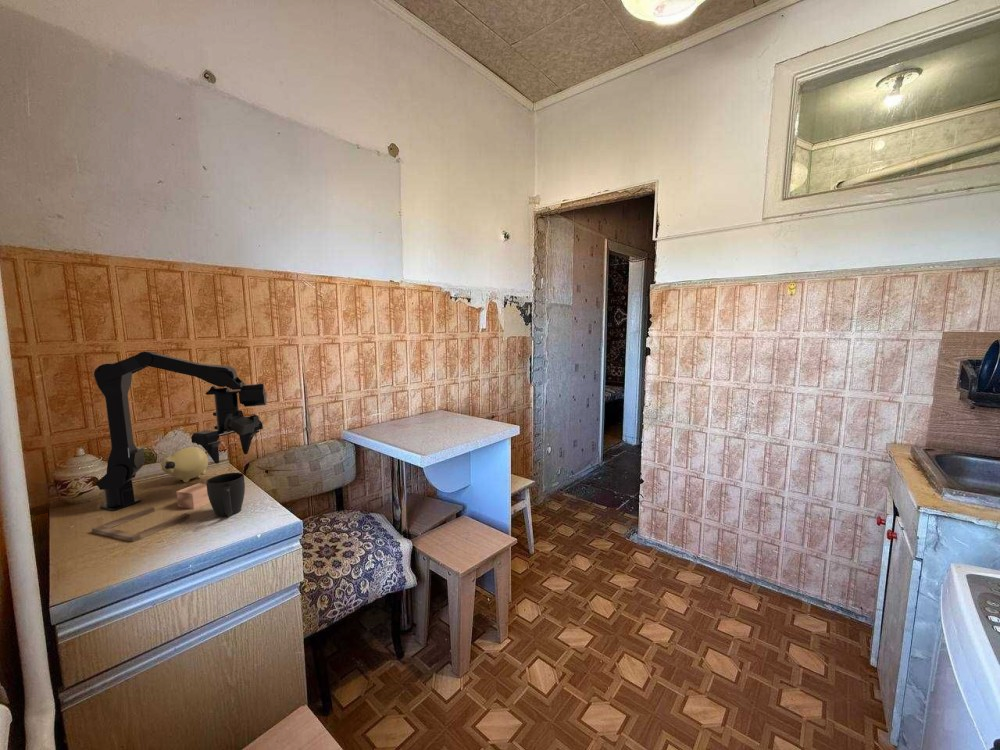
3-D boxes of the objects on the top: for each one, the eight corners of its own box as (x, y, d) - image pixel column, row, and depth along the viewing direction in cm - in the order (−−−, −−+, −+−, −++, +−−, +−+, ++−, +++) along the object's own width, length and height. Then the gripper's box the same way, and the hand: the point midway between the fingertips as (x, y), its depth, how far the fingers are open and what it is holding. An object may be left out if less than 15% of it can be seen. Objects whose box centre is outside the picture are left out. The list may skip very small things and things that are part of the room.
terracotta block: (178, 507, 111) (176, 491, 111) (200, 498, 117) (198, 483, 117) (194, 509, 110) (192, 493, 109) (215, 500, 115) (213, 485, 115)
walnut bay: (92, 532, 97) (91, 528, 97) (150, 510, 109) (150, 506, 109) (133, 541, 93) (132, 537, 92) (189, 517, 104) (189, 514, 104)
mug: (207, 528, 98) (203, 491, 97) (210, 510, 108) (207, 476, 107) (247, 519, 103) (244, 483, 101) (246, 503, 113) (243, 470, 112)
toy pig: (161, 481, 131) (157, 449, 130) (206, 471, 139) (203, 441, 138) (165, 489, 124) (161, 455, 123) (212, 478, 132) (209, 447, 131)
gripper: (216, 415, 110) (221, 471, 112) (274, 403, 127) (278, 451, 129) (187, 413, 113) (193, 467, 115) (247, 402, 131) (251, 449, 133)
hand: (231, 458), depth 123 cm, fingers open, 9 cm apart
